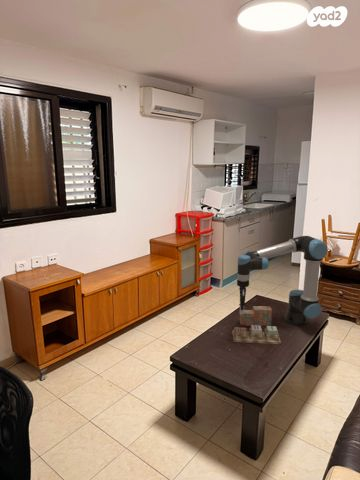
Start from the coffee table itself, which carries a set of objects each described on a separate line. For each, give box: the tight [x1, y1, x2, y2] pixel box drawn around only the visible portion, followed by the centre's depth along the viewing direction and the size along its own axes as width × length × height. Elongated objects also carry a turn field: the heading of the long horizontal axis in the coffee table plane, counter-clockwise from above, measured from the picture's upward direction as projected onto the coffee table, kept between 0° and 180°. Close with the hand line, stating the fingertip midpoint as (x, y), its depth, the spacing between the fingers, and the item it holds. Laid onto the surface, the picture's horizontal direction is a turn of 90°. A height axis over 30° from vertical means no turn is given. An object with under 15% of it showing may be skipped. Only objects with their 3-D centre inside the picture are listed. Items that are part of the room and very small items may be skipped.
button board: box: [231, 326, 282, 345], centre depth 214 cm, size 30×12×5 cm, turn 84°
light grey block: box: [265, 325, 279, 335], centre depth 213 cm, size 6×6×4 cm
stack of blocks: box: [239, 305, 273, 327], centre depth 233 cm, size 21×6×12 cm, turn 89°
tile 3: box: [236, 327, 246, 333], centre depth 215 cm, size 6×6×4 cm
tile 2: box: [250, 325, 263, 334], centre depth 214 cm, size 6×6×4 cm
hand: (241, 313), depth 212 cm, fingers closed
